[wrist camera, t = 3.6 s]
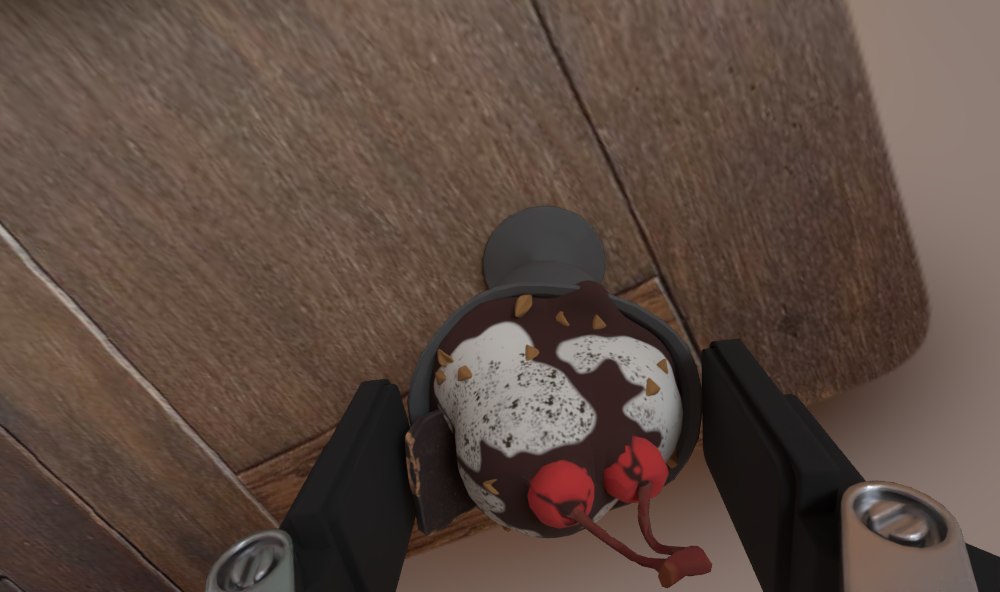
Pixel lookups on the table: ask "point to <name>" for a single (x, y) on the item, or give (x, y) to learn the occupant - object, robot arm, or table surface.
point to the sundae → (552, 397)
